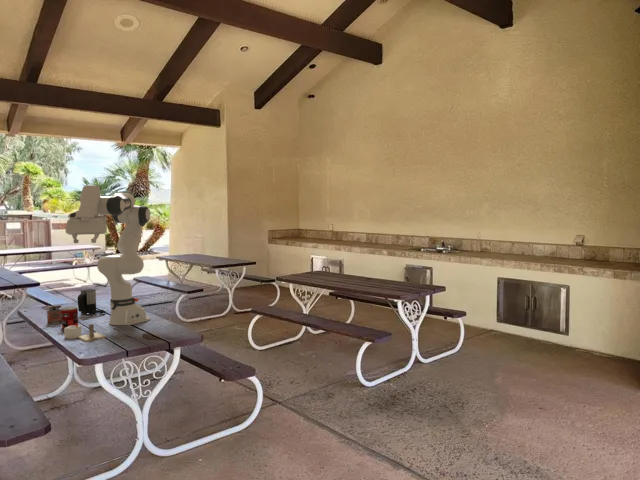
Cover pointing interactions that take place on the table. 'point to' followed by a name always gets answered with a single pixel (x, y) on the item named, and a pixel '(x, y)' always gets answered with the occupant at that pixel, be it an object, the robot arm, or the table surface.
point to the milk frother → (88, 302)
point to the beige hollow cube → (72, 331)
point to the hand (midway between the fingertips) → (84, 242)
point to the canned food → (69, 316)
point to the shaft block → (91, 335)
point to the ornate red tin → (54, 315)
